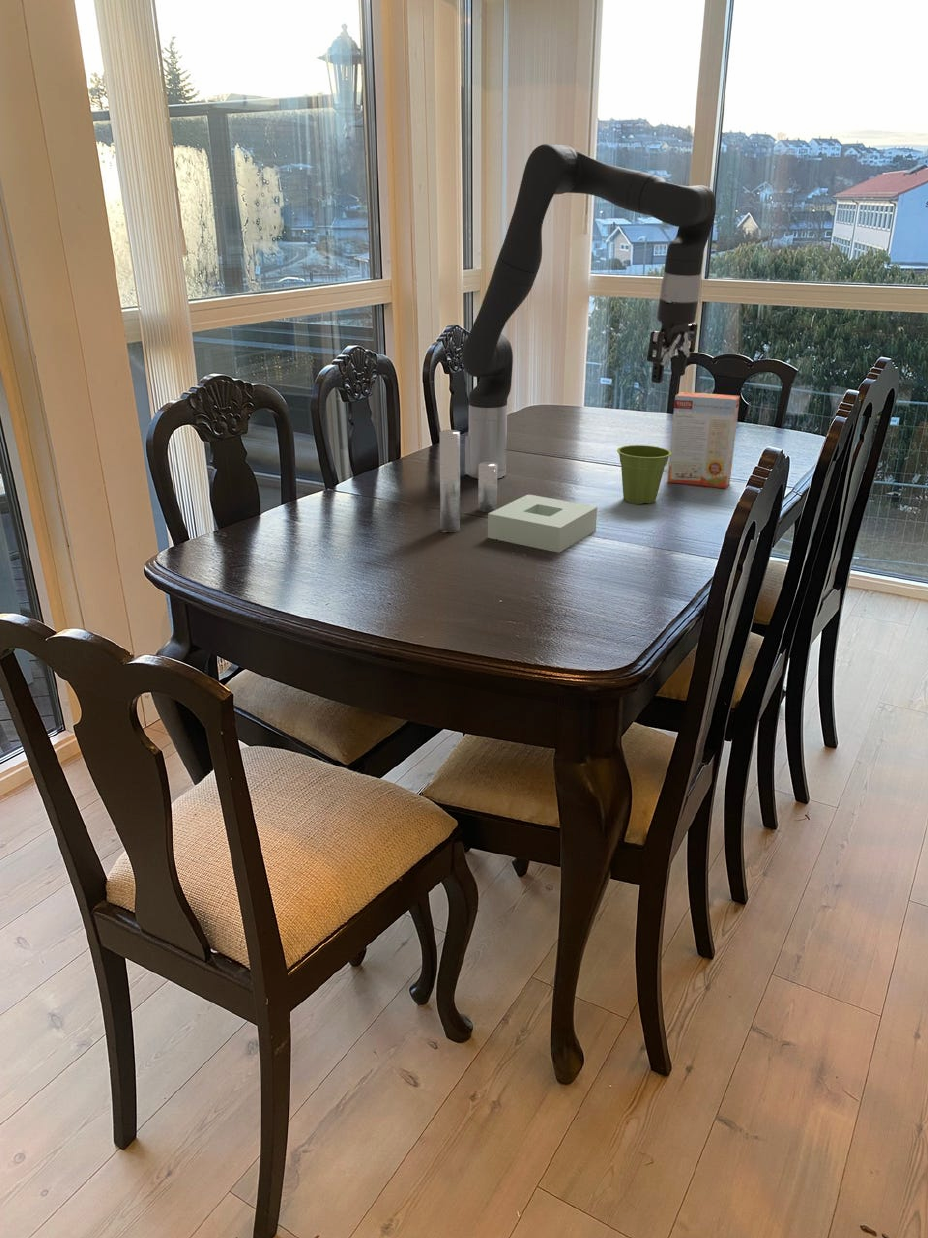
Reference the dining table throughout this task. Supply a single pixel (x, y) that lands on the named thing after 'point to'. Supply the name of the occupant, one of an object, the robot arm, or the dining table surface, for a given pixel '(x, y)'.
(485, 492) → the short steel pin
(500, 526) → the hole block
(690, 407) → the cracker box
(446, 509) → the long steel pin
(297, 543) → the dining table surface
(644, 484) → the plant pot
